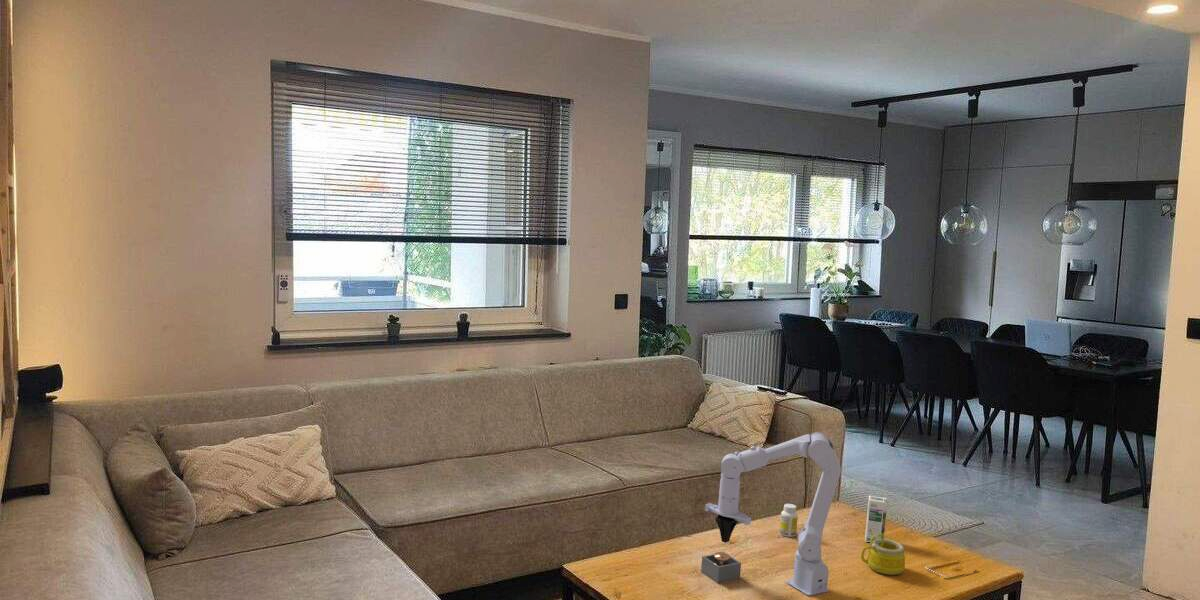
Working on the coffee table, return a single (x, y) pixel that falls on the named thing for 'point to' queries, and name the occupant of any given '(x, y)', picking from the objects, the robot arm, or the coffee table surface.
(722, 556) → the plunger
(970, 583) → the coffee table surface
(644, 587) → the coffee table surface
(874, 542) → the mug
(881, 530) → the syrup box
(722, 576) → the open grey square tray
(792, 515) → the supplement bottle
